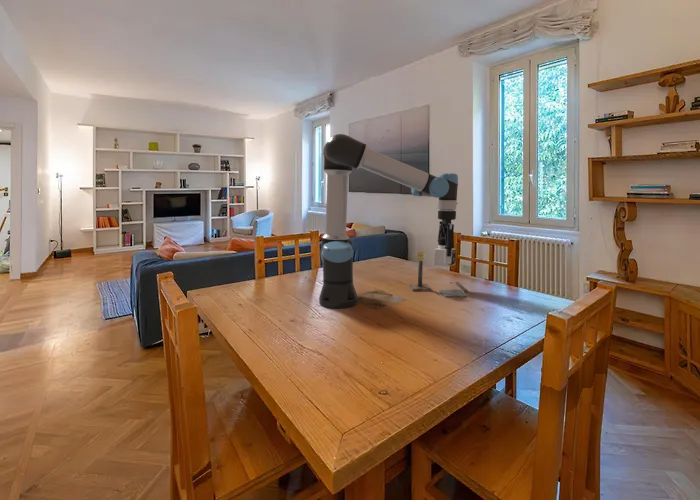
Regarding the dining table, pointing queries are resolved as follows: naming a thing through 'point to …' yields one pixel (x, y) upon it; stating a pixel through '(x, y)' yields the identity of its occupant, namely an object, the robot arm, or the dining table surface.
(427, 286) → the holder
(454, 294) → the coaster
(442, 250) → the medicine bottle
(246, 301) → the dining table surface
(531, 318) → the dining table surface
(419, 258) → the key
